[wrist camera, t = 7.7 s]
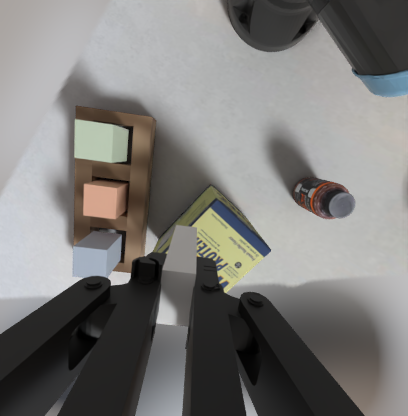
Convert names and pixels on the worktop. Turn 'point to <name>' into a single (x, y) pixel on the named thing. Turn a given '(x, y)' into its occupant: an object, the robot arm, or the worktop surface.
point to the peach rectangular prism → (105, 198)
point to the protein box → (220, 237)
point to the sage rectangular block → (100, 141)
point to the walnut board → (134, 172)
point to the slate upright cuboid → (96, 254)
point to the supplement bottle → (324, 198)
